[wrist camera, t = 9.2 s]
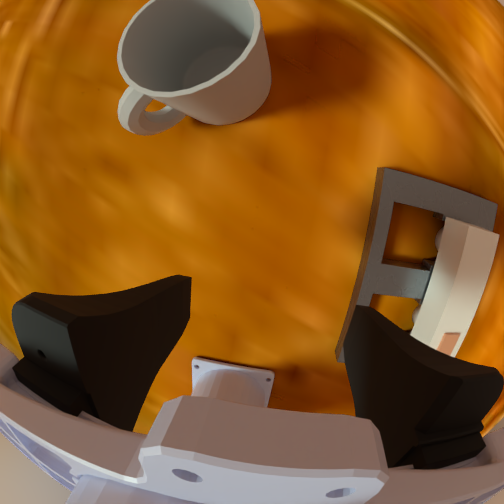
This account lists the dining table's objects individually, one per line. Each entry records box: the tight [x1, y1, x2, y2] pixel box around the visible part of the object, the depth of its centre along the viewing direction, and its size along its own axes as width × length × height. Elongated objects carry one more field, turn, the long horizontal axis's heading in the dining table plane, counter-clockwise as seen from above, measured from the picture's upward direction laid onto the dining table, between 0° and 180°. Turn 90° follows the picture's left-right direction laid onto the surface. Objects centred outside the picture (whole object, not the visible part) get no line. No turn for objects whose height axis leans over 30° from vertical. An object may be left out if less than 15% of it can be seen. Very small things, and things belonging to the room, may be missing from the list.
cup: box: [117, 0, 272, 136], centre depth 13 cm, size 7×10×9 cm
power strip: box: [410, 217, 499, 357], centre depth 17 cm, size 11×4×5 cm, turn 174°
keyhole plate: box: [335, 168, 498, 363], centre depth 19 cm, size 16×12×2 cm
